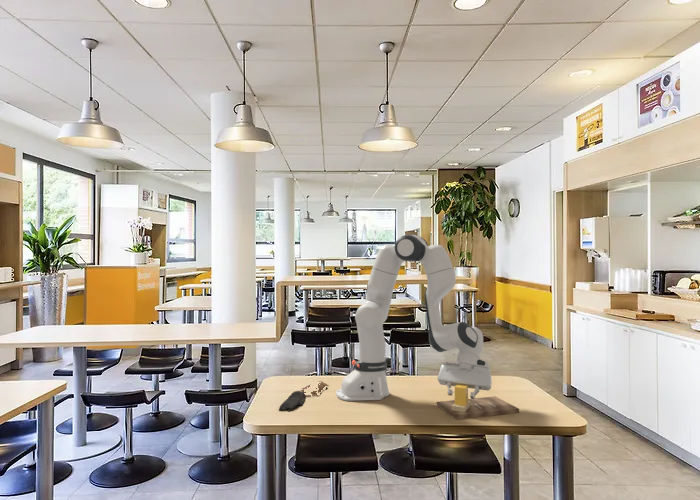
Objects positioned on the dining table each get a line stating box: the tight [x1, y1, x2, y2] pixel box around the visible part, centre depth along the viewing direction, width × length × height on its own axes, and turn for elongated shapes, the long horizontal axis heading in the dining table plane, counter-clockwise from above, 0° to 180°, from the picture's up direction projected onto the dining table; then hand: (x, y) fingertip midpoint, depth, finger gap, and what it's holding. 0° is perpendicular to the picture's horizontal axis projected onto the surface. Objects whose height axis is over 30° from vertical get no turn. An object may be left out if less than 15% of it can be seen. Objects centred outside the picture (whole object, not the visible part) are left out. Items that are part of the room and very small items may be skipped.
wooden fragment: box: [300, 380, 330, 398], centre depth 216 cm, size 26×11×1 cm, turn 166°
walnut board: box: [435, 395, 520, 420], centre depth 188 cm, size 26×16×2 cm, turn 106°
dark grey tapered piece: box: [278, 390, 307, 412], centre depth 196 cm, size 22×7×3 cm, turn 169°
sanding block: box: [452, 384, 471, 412], centre depth 185 cm, size 9×5×8 cm, turn 153°
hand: (460, 396), depth 185 cm, fingers open, 7 cm apart
